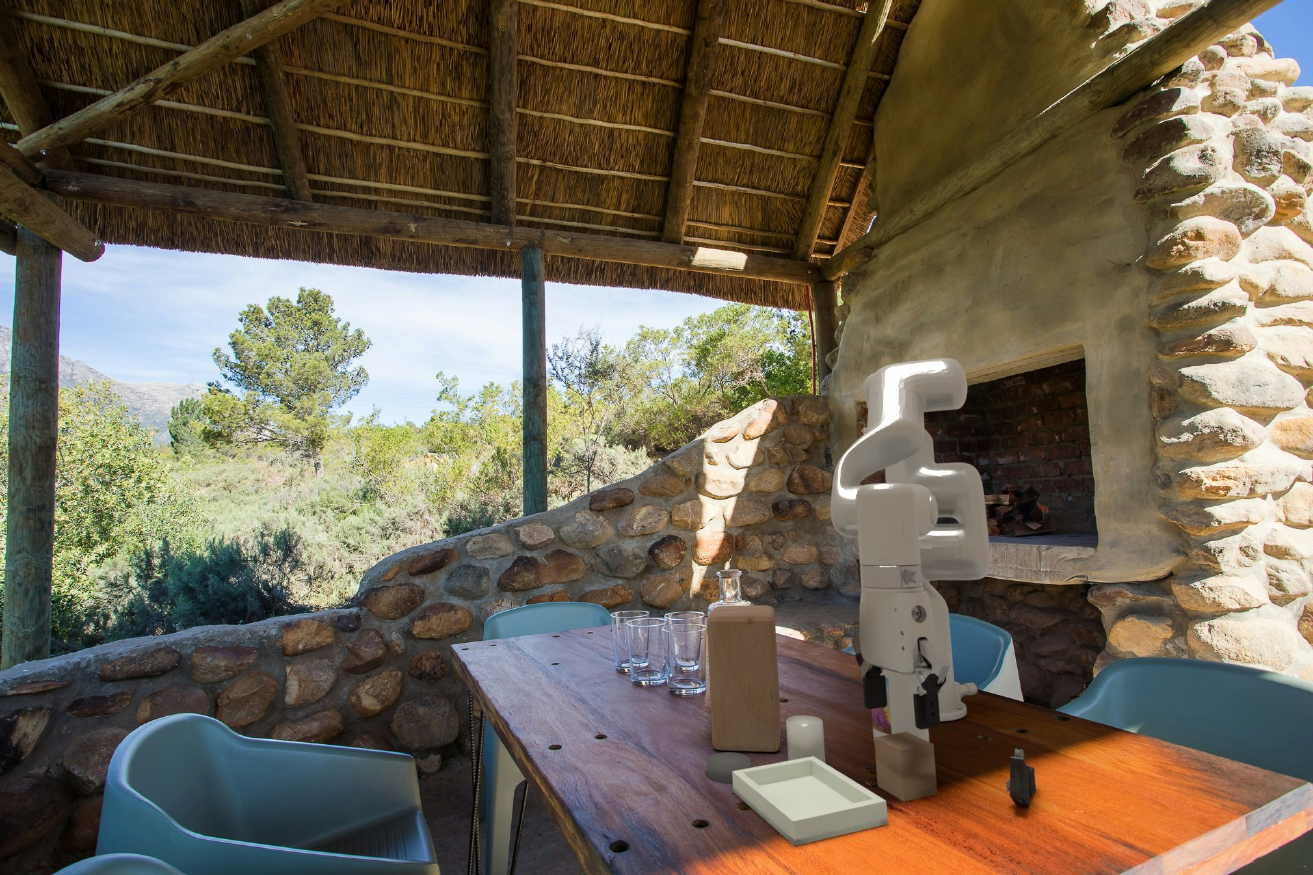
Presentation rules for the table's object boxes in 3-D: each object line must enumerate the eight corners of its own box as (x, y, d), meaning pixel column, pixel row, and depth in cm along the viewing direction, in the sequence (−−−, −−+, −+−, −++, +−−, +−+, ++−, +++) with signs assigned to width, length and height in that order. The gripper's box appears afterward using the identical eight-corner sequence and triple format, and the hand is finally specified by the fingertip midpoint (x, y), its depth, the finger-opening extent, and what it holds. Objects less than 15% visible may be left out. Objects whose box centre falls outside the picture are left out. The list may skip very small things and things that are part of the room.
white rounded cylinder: (812, 756, 96) (810, 713, 97) (832, 768, 92) (829, 723, 92) (782, 762, 95) (779, 718, 95) (800, 775, 90) (798, 728, 91)
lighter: (1015, 812, 82) (1015, 763, 85) (1036, 816, 81) (1035, 767, 84) (1002, 794, 77) (1002, 743, 80) (1024, 798, 76) (1024, 746, 79)
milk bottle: (928, 740, 101) (917, 604, 103) (931, 759, 94) (919, 613, 96) (874, 736, 103) (865, 604, 105) (873, 754, 96) (863, 612, 98)
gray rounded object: (739, 764, 95) (738, 749, 95) (759, 779, 90) (758, 764, 90) (700, 771, 93) (699, 756, 93) (718, 787, 88) (717, 771, 88)
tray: (814, 775, 90) (813, 756, 90) (887, 824, 75) (886, 800, 76) (733, 791, 86) (732, 771, 86) (794, 845, 71) (793, 821, 72)
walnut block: (909, 779, 87) (906, 731, 88) (937, 794, 83) (933, 743, 83) (877, 786, 86) (874, 737, 86) (904, 801, 81) (900, 750, 82)
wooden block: (780, 754, 98) (772, 614, 100) (711, 752, 100) (705, 614, 102) (781, 731, 107) (774, 604, 109) (719, 729, 109) (713, 604, 111)
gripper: (964, 581, 80) (977, 732, 78) (873, 573, 96) (881, 697, 94) (913, 585, 77) (924, 741, 75) (828, 576, 94) (835, 703, 91)
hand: (900, 716), depth 84 cm, fingers open, 9 cm apart
